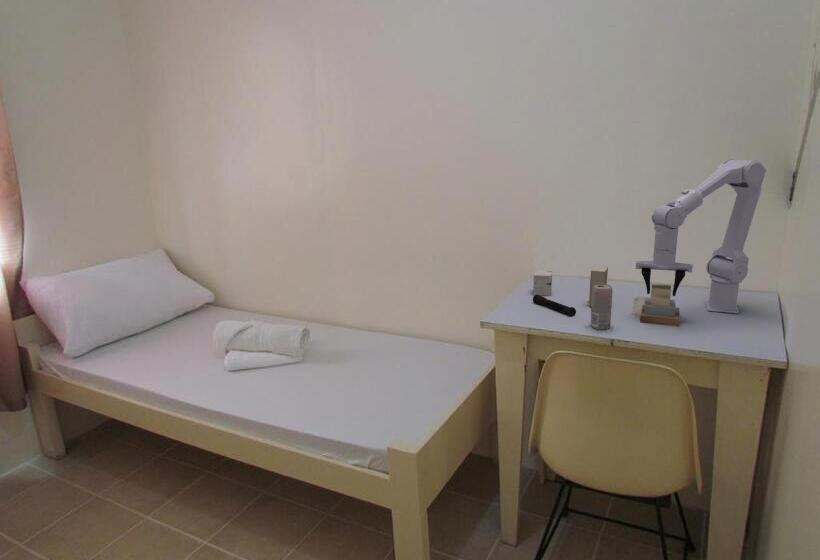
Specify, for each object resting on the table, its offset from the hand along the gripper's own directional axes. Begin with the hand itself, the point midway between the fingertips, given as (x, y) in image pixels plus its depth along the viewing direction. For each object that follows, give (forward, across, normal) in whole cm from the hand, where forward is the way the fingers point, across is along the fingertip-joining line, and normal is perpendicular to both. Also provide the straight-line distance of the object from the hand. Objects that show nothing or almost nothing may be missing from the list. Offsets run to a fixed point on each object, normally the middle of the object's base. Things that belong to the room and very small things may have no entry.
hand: (661, 294), depth 151 cm
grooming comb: (+8, -5, +10) cm, 13 cm away
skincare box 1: (+8, -37, +14) cm, 40 cm away
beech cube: (+3, 0, 0) cm, 3 cm away
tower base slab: (+8, 0, 0) cm, 8 cm away
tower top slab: (+5, 0, 0) cm, 5 cm away
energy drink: (+8, -15, -12) cm, 21 cm away
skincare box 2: (+8, -18, +7) cm, 21 cm away
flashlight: (+8, -30, -1) cm, 31 cm away
